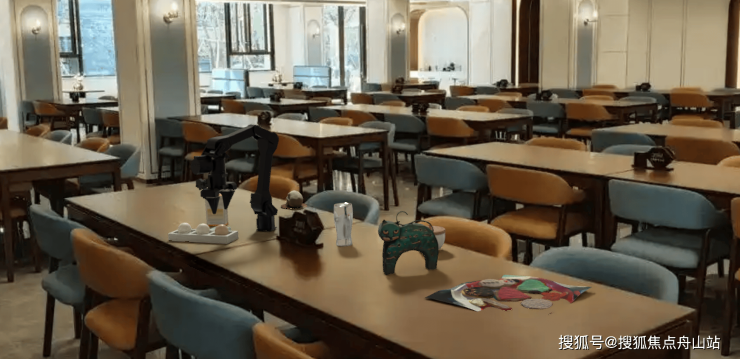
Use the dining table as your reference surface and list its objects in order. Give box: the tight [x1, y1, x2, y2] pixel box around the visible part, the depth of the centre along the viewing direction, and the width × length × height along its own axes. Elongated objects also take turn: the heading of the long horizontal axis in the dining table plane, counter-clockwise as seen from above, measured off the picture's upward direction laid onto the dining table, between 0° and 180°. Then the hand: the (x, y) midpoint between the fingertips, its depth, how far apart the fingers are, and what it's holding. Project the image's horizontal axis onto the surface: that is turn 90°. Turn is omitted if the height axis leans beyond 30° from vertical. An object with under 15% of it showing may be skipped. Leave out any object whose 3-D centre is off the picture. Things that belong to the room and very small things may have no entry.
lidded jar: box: [426, 224, 446, 250], centre depth 287 cm, size 11×11×9 cm
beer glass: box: [333, 202, 354, 247], centre depth 298 cm, size 7×7×15 cm
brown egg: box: [215, 224, 228, 236], centre depth 310 cm, size 5×5×5 cm
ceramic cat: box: [377, 210, 440, 276], centre depth 261 cm, size 20×6×20 cm, turn 105°
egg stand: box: [210, 226, 232, 231], centre depth 323 cm, size 6×6×2 cm
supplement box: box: [204, 194, 229, 227], centre depth 337 cm, size 8×5×13 cm, turn 84°
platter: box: [424, 274, 592, 315], centre depth 234 cm, size 35×35×2 cm
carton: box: [167, 222, 239, 245], centre depth 313 cm, size 25×9×6 cm, turn 73°
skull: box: [280, 190, 308, 210], centre depth 373 cm, size 12×10×10 cm
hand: (220, 211), depth 309 cm, fingers open, 9 cm apart
